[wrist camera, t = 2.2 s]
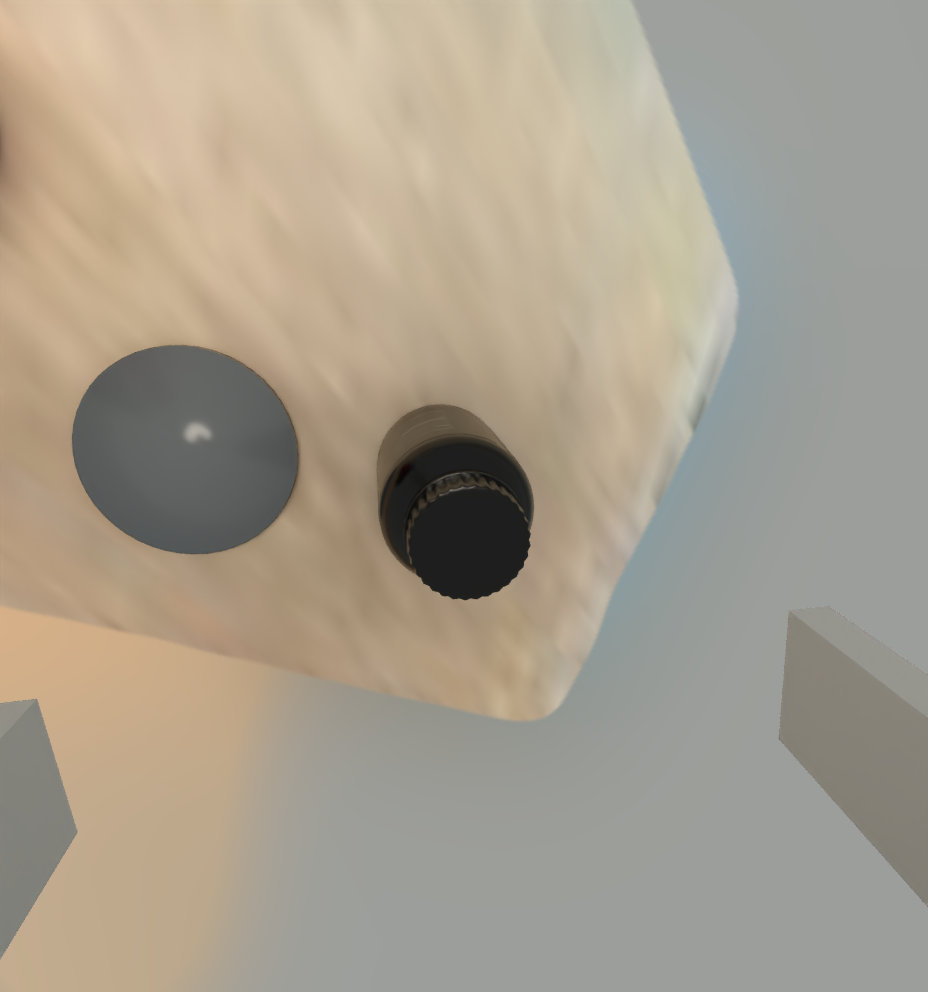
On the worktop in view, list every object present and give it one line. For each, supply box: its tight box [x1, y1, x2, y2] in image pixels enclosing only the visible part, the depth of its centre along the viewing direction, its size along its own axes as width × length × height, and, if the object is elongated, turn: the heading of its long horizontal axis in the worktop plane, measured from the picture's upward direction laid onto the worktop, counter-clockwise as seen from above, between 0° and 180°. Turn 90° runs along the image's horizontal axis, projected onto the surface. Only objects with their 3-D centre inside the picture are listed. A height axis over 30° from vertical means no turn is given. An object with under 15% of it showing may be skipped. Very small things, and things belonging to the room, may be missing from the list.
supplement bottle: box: [377, 405, 534, 600], centre depth 30 cm, size 7×7×12 cm
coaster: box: [72, 345, 298, 554], centre depth 34 cm, size 11×11×1 cm
